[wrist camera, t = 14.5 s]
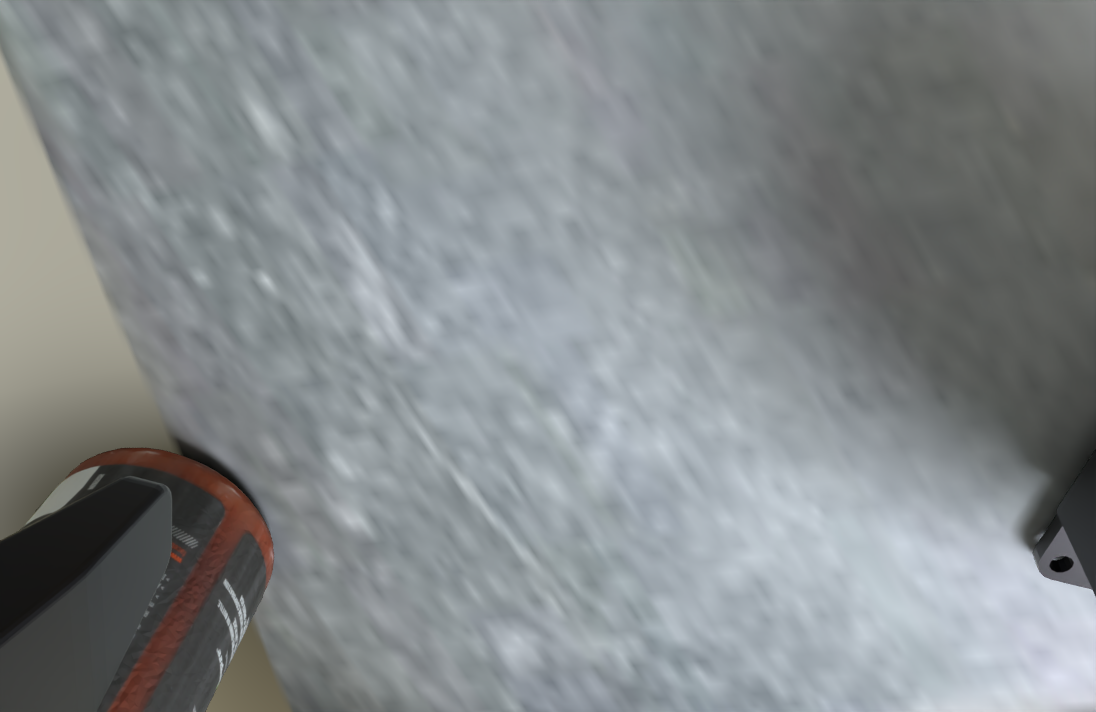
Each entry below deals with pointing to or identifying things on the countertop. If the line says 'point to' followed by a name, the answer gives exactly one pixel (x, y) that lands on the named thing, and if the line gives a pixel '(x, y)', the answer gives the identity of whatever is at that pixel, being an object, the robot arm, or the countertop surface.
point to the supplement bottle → (183, 579)
